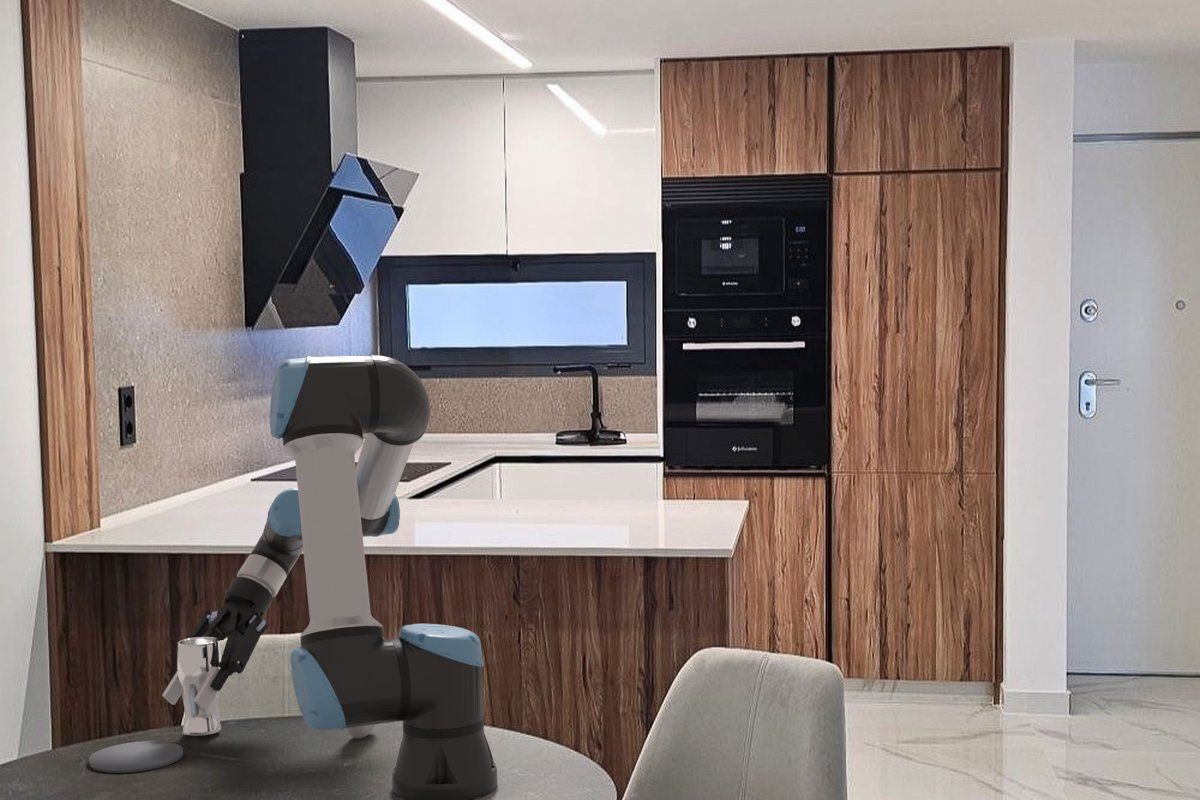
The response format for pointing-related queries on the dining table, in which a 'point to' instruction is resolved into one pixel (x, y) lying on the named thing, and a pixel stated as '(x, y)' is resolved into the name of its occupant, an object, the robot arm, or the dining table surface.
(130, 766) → the mat
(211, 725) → the beer glass
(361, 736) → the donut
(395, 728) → the dining table surface
